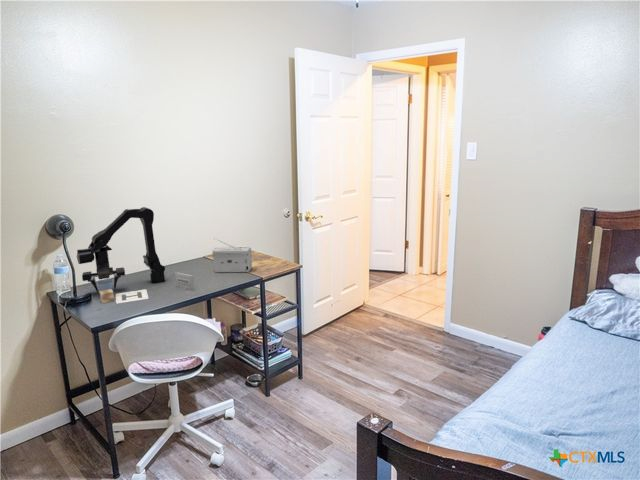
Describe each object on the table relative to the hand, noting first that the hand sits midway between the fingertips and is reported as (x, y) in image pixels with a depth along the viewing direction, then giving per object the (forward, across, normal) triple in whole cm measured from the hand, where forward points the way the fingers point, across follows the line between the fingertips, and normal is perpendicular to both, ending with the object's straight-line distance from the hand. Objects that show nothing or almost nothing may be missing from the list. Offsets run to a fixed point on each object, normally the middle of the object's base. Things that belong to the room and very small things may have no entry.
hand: (106, 290), depth 219 cm
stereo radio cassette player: (+2, +65, +6) cm, 65 cm away
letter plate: (+1, +11, -12) cm, 16 cm away
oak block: (+1, 0, -13) cm, 13 cm away
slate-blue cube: (+1, 0, 0) cm, 1 cm away
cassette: (+2, +36, -11) cm, 38 cm away
